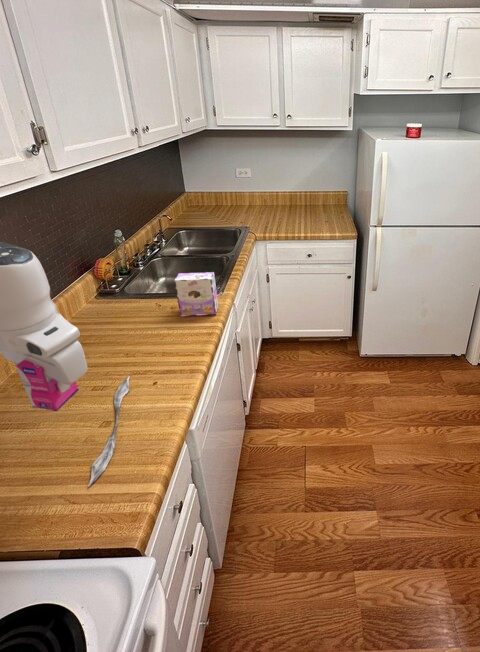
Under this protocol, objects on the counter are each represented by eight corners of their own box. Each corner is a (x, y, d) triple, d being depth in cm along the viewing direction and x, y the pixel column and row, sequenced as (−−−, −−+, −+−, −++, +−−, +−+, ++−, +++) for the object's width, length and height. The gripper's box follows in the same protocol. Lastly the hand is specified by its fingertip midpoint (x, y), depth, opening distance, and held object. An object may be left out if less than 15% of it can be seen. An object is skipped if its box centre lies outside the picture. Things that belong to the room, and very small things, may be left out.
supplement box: (31, 409, 67) (13, 364, 63) (56, 386, 73) (41, 344, 69) (56, 413, 66) (40, 368, 62) (80, 389, 72) (66, 347, 68)
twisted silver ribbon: (85, 489, 71) (111, 480, 73) (85, 487, 71) (111, 479, 73) (114, 379, 99) (132, 375, 101) (114, 377, 99) (132, 373, 101)
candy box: (219, 307, 135) (214, 271, 129) (216, 315, 129) (211, 278, 123) (184, 308, 133) (178, 272, 128) (179, 317, 128) (173, 280, 122)
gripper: (-23, 325, 64) (0, 380, 69) (50, 353, 57) (70, 411, 62) (15, 308, 69) (34, 360, 74) (85, 331, 63) (101, 386, 68)
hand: (51, 383), depth 68 cm, fingers closed on supplement box, 6 cm apart
